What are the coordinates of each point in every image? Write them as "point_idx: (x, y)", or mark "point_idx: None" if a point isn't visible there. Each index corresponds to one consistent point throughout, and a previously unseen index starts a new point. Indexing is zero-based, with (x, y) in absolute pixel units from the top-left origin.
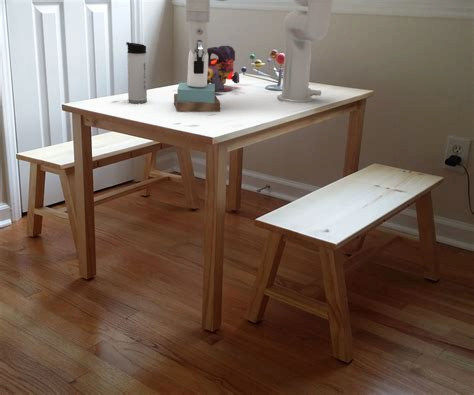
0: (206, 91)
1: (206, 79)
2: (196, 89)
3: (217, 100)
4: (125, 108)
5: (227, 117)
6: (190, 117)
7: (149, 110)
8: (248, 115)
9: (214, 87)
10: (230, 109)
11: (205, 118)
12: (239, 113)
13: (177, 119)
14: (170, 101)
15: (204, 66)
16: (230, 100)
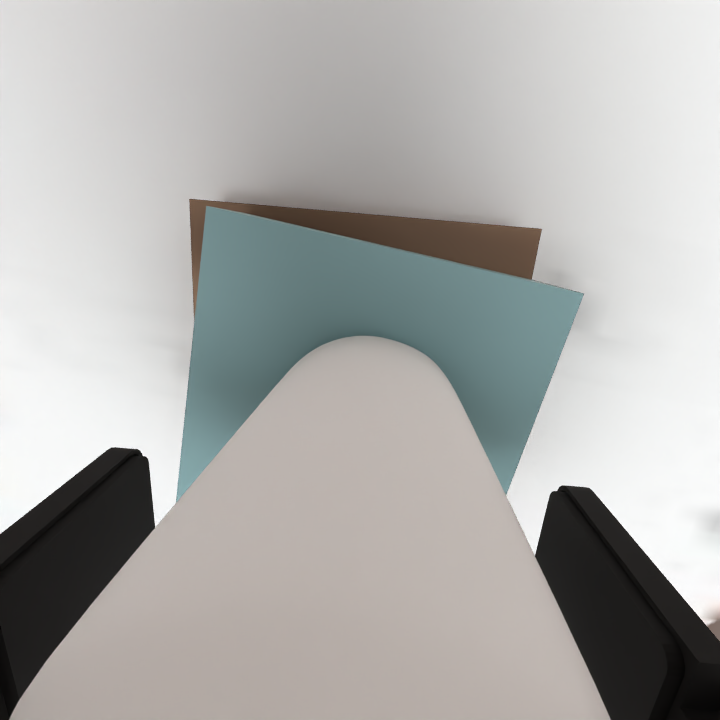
0: (549, 368)
1: (431, 372)
2: (495, 450)
3: (449, 233)
4: None
5: (660, 208)
6: (595, 439)
7: None
8: (644, 10)
9: (413, 257)
10: (417, 119)
11: (644, 361)
12: (561, 76)
13: (623, 510)
14: (169, 471)
15: (510, 508)
16: (90, 31)
